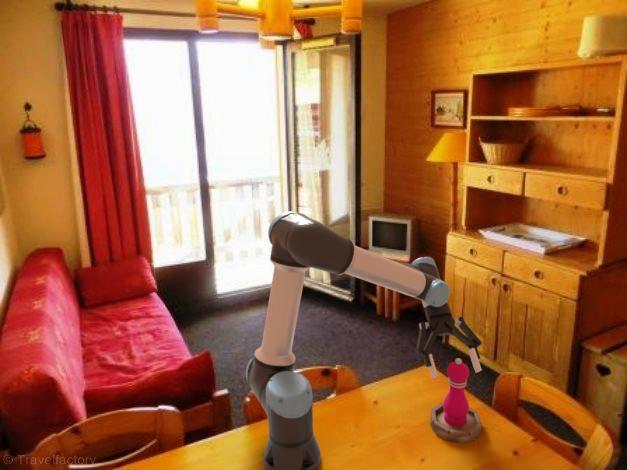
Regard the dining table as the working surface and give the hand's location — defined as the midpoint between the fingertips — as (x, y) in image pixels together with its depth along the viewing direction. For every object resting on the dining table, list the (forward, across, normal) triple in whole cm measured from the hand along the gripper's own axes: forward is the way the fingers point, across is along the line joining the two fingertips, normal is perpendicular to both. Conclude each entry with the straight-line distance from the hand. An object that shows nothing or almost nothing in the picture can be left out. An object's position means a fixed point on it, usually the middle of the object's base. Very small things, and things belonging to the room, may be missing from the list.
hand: (457, 374), depth 134 cm
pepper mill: (+11, +1, -8) cm, 14 cm away
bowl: (+12, +1, -10) cm, 16 cm away
